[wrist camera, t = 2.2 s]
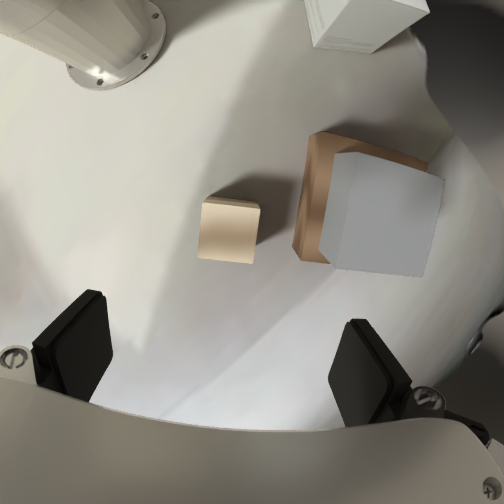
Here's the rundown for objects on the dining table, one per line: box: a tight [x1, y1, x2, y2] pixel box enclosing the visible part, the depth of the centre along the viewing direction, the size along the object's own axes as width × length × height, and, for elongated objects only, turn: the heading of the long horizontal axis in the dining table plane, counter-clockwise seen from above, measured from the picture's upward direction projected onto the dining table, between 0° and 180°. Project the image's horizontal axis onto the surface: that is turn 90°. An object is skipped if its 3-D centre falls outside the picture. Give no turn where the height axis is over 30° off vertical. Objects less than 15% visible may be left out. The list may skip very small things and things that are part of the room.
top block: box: [318, 152, 445, 277], centre depth 23 cm, size 9×9×5 cm
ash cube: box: [198, 196, 260, 264], centre depth 27 cm, size 5×5×5 cm
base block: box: [292, 132, 428, 264], centre depth 27 cm, size 12×12×5 cm
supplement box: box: [305, 0, 430, 54], centre depth 17 cm, size 7×7×13 cm
